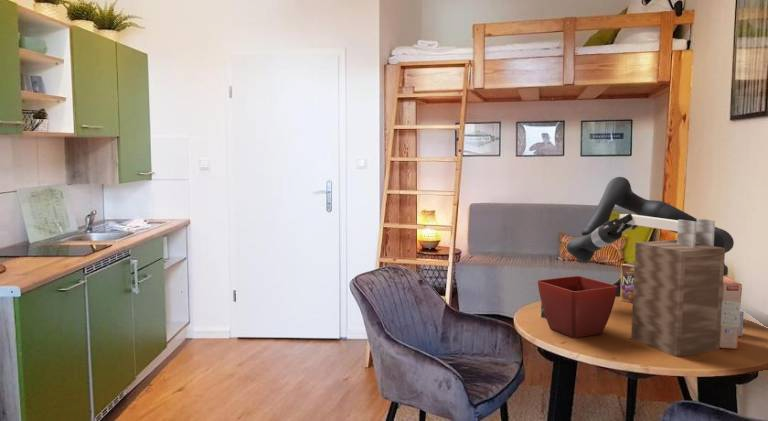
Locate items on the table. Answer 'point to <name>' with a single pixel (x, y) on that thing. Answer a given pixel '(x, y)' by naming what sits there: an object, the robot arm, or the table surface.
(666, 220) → the cream box
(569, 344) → the table surface
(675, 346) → the walnut shelf
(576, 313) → the plant pot
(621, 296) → the candy box
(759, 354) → the table surface
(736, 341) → the cracker box
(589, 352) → the table surface
